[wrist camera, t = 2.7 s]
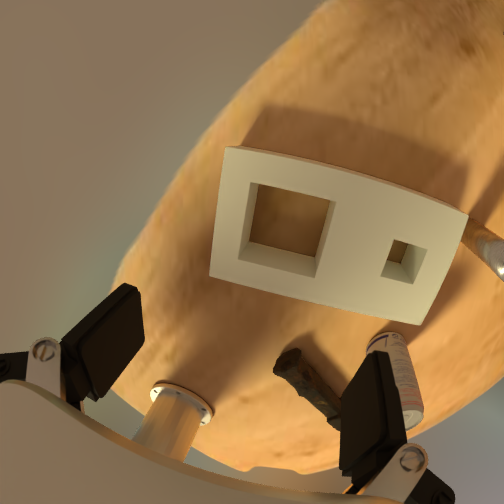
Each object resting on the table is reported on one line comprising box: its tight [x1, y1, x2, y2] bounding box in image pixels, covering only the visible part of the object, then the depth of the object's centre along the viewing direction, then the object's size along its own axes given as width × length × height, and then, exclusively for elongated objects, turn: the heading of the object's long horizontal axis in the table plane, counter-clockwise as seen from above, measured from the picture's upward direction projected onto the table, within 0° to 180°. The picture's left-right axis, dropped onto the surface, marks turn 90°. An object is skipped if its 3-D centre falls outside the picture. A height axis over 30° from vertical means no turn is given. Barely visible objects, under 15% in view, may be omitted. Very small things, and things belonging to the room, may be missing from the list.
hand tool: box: [273, 348, 341, 431], centre depth 33 cm, size 19×4×5 cm, turn 38°
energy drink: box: [366, 332, 424, 431], centre depth 24 cm, size 5×5×12 cm
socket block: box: [209, 146, 469, 325], centre depth 24 cm, size 12×22×4 cm, turn 81°
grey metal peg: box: [460, 218, 504, 282], centre depth 18 cm, size 3×3×9 cm
